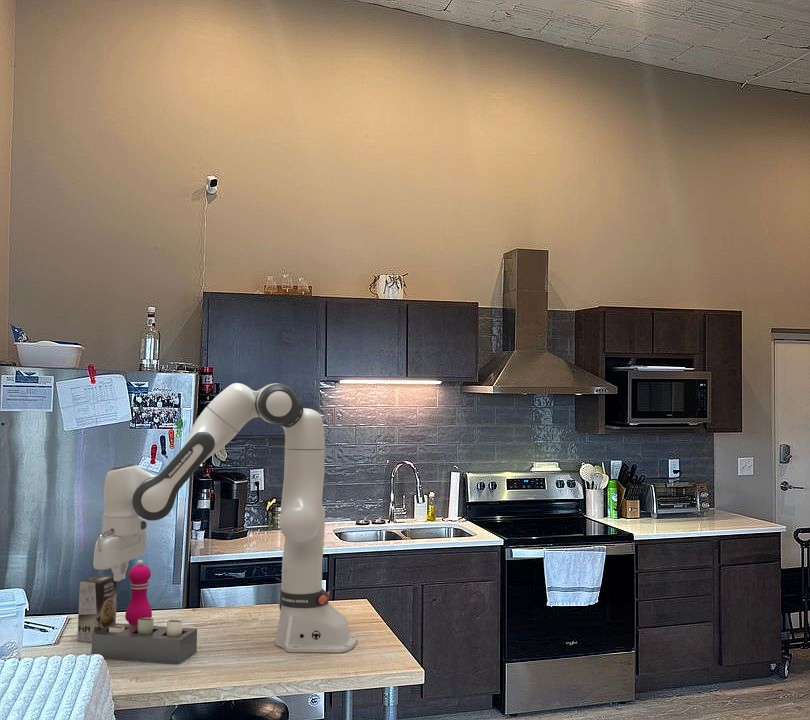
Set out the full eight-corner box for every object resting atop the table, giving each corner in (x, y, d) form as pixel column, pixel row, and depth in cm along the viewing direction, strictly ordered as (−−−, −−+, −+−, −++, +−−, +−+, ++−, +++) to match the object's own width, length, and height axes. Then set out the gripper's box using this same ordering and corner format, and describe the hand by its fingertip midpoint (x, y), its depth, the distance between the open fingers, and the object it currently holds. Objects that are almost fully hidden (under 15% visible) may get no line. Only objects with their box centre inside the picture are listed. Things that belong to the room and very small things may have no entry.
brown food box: (97, 643, 214) (99, 582, 215) (76, 641, 216) (78, 581, 216) (116, 633, 223) (118, 575, 224) (95, 631, 225) (97, 573, 225)
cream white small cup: (184, 637, 206) (184, 619, 206) (177, 641, 202) (178, 623, 202) (170, 636, 206) (171, 618, 206) (163, 641, 203) (164, 622, 203)
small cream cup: (126, 643, 208) (127, 625, 208) (119, 647, 204) (119, 629, 205) (113, 642, 209) (113, 624, 209) (105, 646, 205) (106, 628, 205)
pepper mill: (146, 634, 222) (148, 562, 223) (120, 634, 222) (123, 562, 223) (155, 627, 229) (157, 557, 230) (130, 626, 230) (132, 556, 231)
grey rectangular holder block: (196, 651, 208) (197, 628, 208) (179, 664, 198) (180, 640, 199) (112, 645, 212) (112, 623, 212) (91, 657, 202) (92, 633, 203)
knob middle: (155, 635, 207) (156, 617, 207) (148, 639, 203) (148, 621, 203) (141, 634, 208) (142, 616, 208) (134, 638, 204) (135, 620, 204)
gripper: (110, 533, 197) (109, 590, 197) (150, 521, 217) (149, 572, 217) (87, 532, 198) (86, 588, 198) (129, 520, 218) (128, 571, 218)
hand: (119, 579), depth 207 cm, fingers closed
